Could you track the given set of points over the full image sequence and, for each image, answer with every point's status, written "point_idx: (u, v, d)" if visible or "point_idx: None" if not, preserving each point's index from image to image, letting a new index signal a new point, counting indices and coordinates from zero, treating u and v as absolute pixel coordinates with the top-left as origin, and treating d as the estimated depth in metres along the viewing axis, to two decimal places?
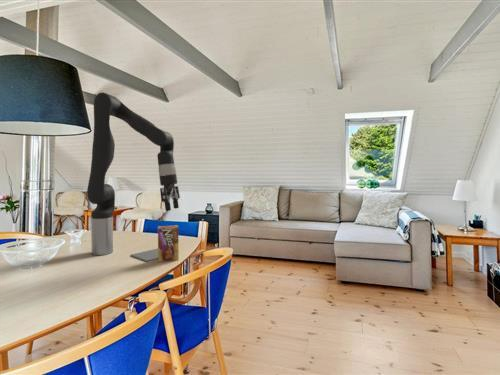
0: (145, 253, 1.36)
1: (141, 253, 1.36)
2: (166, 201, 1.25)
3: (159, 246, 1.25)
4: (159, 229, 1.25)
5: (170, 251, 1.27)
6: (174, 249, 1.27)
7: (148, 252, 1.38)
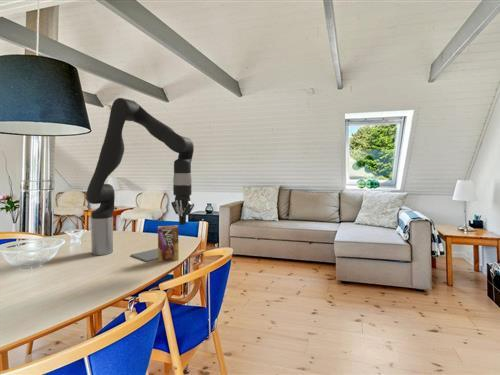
0: (145, 253, 1.36)
1: (141, 253, 1.36)
2: (186, 215, 1.21)
3: (159, 246, 1.25)
4: (159, 229, 1.25)
5: (170, 251, 1.27)
6: (174, 249, 1.27)
7: (148, 252, 1.38)
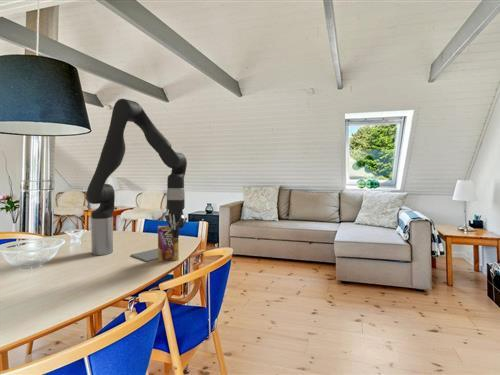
0: (145, 253, 1.36)
1: (141, 253, 1.36)
2: (179, 228, 1.24)
3: (159, 246, 1.25)
4: (159, 229, 1.25)
5: (170, 250, 1.27)
6: (174, 249, 1.28)
7: (148, 252, 1.38)
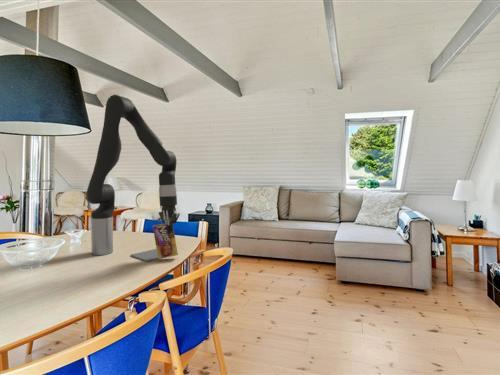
0: (145, 253, 1.36)
1: (141, 253, 1.36)
2: (173, 223, 1.28)
3: (156, 243, 1.27)
4: (154, 226, 1.30)
5: (168, 246, 1.28)
6: (172, 244, 1.29)
7: (148, 252, 1.38)
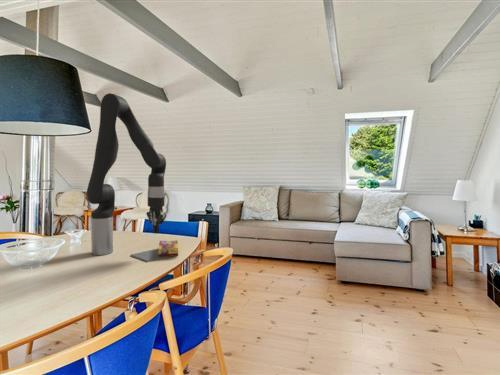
0: (145, 253, 1.36)
1: (141, 253, 1.36)
2: (159, 224, 1.33)
3: (160, 244, 1.36)
4: (160, 241, 1.44)
5: (170, 245, 1.35)
6: (174, 245, 1.36)
7: (148, 252, 1.38)
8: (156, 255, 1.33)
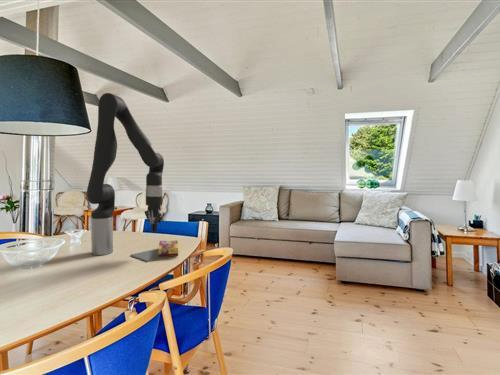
0: (145, 253, 1.36)
1: (141, 253, 1.36)
2: (157, 223, 1.34)
3: (160, 244, 1.36)
4: (160, 241, 1.44)
5: (170, 245, 1.35)
6: (174, 245, 1.36)
7: (148, 252, 1.38)
8: (156, 255, 1.33)
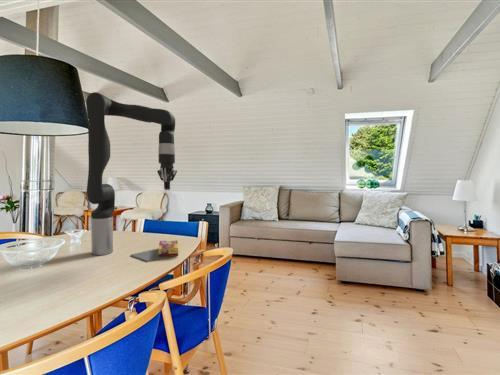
0: (145, 253, 1.36)
1: (141, 253, 1.36)
2: (170, 180, 1.36)
3: (160, 244, 1.36)
4: (160, 241, 1.44)
5: (170, 245, 1.35)
6: (174, 245, 1.36)
7: (148, 252, 1.38)
8: (156, 255, 1.33)
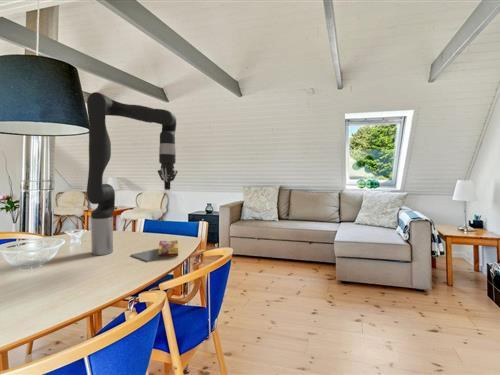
0: (145, 253, 1.36)
1: (141, 253, 1.36)
2: None
3: (160, 244, 1.36)
4: (160, 241, 1.44)
5: (170, 245, 1.35)
6: (174, 245, 1.36)
7: (148, 252, 1.38)
8: (156, 255, 1.33)
